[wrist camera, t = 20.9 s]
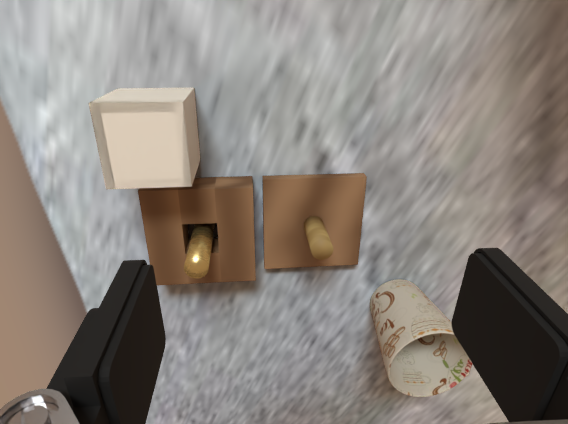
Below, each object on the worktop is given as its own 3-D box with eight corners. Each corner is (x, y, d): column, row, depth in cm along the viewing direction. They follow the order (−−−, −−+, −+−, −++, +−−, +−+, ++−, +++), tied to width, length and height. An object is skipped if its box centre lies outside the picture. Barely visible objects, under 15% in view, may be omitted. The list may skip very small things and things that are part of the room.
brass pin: (214, 215, 39) (207, 257, 32) (215, 232, 40) (209, 277, 33) (193, 215, 39) (182, 258, 32) (195, 233, 40) (185, 279, 33)
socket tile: (252, 176, 38) (252, 187, 35) (254, 264, 42) (255, 280, 40) (145, 178, 37) (138, 191, 34) (159, 268, 41) (153, 285, 39)
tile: (363, 173, 39) (383, 197, 34) (355, 259, 43) (371, 292, 38) (262, 175, 38) (265, 200, 33) (264, 263, 42) (267, 298, 37)
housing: (194, 87, 34) (183, 102, 28) (200, 158, 37) (191, 186, 30) (117, 88, 33) (88, 102, 27) (129, 160, 36) (106, 189, 30)
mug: (389, 258, 44) (428, 319, 35) (468, 302, 47) (521, 367, 38) (345, 311, 46) (370, 380, 37) (423, 348, 50) (463, 419, 41)
